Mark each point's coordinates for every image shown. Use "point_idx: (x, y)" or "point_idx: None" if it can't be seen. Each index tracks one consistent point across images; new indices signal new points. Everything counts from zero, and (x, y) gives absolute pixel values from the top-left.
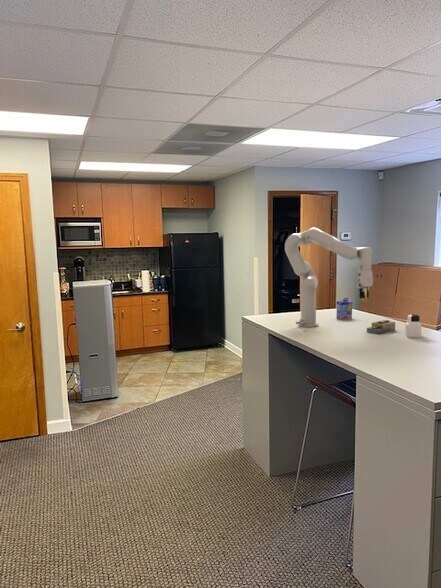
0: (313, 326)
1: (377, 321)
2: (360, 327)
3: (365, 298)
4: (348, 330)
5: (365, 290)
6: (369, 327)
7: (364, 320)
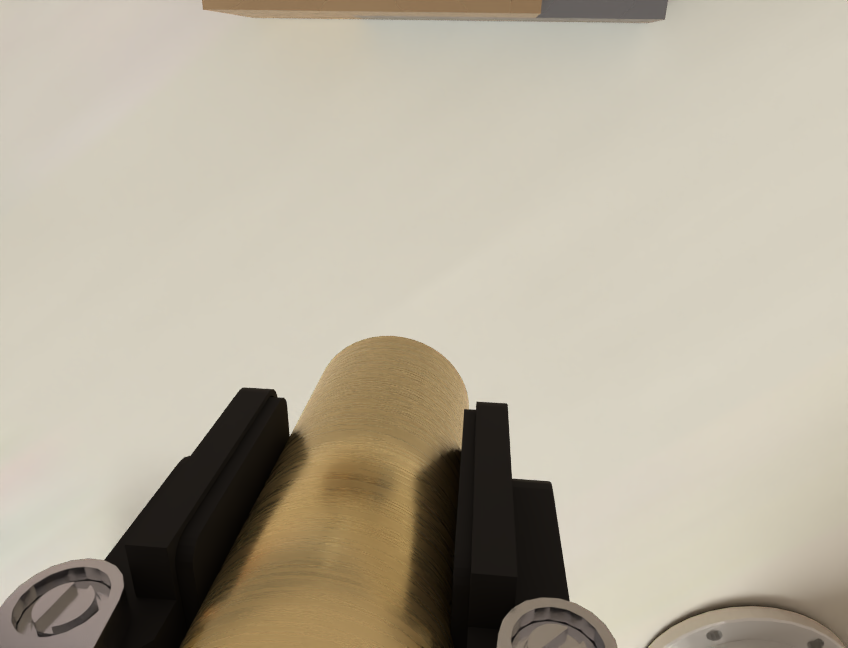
0: (798, 616)
1: (377, 6)
2: (439, 266)
3: (411, 389)
4: (707, 264)
5: (369, 628)
6: (607, 7)
7: (85, 452)
